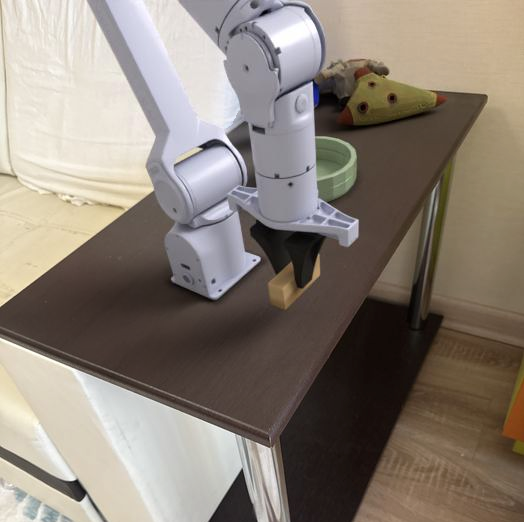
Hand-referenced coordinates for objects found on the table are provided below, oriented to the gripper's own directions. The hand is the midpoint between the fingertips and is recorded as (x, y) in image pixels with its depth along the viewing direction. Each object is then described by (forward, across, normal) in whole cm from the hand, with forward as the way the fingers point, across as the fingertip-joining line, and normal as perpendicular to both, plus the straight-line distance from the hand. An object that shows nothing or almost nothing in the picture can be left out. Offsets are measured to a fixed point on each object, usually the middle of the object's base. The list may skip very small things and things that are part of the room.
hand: (295, 279), depth 58 cm
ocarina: (+5, +14, -50) cm, 52 cm away
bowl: (+5, +16, -26) cm, 31 cm away
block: (+1, 0, 0) cm, 1 cm away
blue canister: (+5, +33, -50) cm, 61 cm away
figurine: (0, +23, -51) cm, 55 cm away
